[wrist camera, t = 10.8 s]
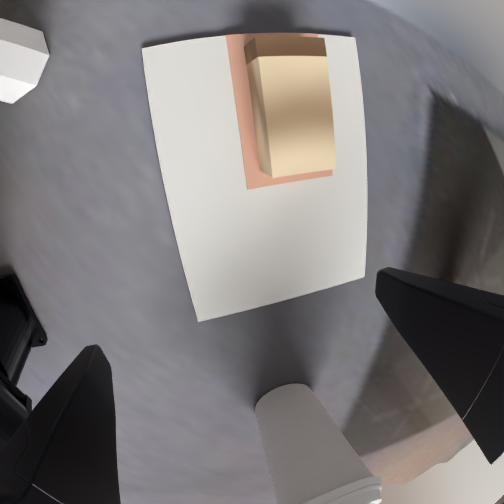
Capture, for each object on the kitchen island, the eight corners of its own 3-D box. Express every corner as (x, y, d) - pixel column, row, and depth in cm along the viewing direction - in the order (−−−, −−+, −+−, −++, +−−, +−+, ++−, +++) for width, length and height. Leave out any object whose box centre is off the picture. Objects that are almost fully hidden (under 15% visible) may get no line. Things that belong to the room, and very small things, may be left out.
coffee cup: (339, 388, 31) (403, 490, 18) (278, 433, 32) (322, 535, 19) (290, 359, 27) (365, 497, 14) (221, 414, 28) (260, 544, 15)
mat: (362, 274, 25) (365, 277, 24) (197, 318, 22) (198, 322, 22) (351, 38, 16) (355, 37, 16) (142, 50, 14) (141, 48, 14)
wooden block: (243, 47, 15) (254, 36, 13) (305, 45, 16) (324, 37, 13) (259, 170, 19) (272, 178, 16) (318, 162, 19) (336, 168, 17)
